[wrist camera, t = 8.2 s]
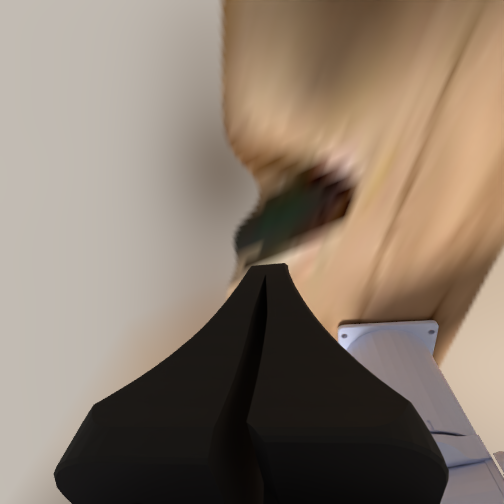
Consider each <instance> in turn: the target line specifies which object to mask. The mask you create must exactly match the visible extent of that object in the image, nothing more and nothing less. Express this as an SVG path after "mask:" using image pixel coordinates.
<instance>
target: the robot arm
mask: <svg viewBox="0 0 504 504" xmlns="http://www.w3.org/2000/svg"><path fill="white" fill-rule="evenodd" d="M438 328H439V325H438V324H437V322H436V321H434V320H425V321H406V322H387V323H368V324H348V325H341V326H339V327H338V342H337V341H336V340H335V339H334V338H333V337H332V336H331V335H330V334H329V332H328V331H327V330H326V329H325V328H324V327H323V326H322V324H321V323H320V322H319V321H318V320H317V318H316V317H315V316H314V314H313V313H312V312H311V310H310V309H309V308H308V306H307V305H306V303H305V302H304V300H303V299H302V297H301V295H300V294H299V292H298V290H297V289H296V287H295V285H294V283H293V281H292V278H291V276H290V274H289V270H288V265H286V264H285V263H280V264H269V265H257V266H251V267H250V269H249V270H248V271H247V273H246V275H245V276H244V278H243V279H242V280H241V282H240V283H239V285H238V286H237V288H236V289H235V290H234V292H233V293H232V294H231V296H230V297H229V298H228V300H227V301H226V302H225V303H224V304H223V306H222V307H221V308H220V309H219V310H218V311H217V313H216V314H215V315H214V316H213V317H212V318H211V319H210V320H209V322H208V323H207V324H206V325H205V326H204V327H203V328H202V329H201V330H200V331H199V332H197V333H196V334H195V335H194V336H193V337H192V338H191V339H190V340H189V341H187V342H186V343H185V344H184V345H182V346H181V347H180V348H179V349H178V350H177V351H175V352H174V353H173V354H172V355H170V356H169V357H168V358H166V359H165V360H164V361H162V362H161V363H159V364H158V365H157V366H155V367H154V368H152V369H151V370H150V371H148V372H147V373H145V374H144V375H142V376H141V377H139V378H138V379H136V380H134V381H133V382H131V383H130V384H128V385H126V386H125V387H123V388H122V389H120V390H118V391H116V392H115V393H113V394H111V395H110V396H108V397H107V398H105V399H103V400H101V401H100V402H98V403H96V404H95V405H93V407H92V408H91V410H90V411H89V413H88V415H87V416H86V418H85V420H84V421H83V423H82V424H81V426H80V428H79V429H78V431H77V433H76V435H75V436H74V438H73V440H72V441H71V443H70V445H69V446H68V448H67V450H66V452H65V453H64V455H63V457H62V458H61V460H60V462H59V463H58V465H57V467H56V469H55V472H54V477H55V481H56V485H57V488H58V489H59V490H60V492H61V493H62V494H63V495H64V496H65V497H66V498H67V499H68V500H69V501H70V502H71V503H72V504H504V478H503V476H502V475H501V473H500V471H499V470H498V468H497V466H496V464H495V463H494V461H493V459H492V457H491V456H490V454H489V452H488V451H487V449H486V447H485V445H484V444H483V442H482V440H481V439H480V437H479V435H477V434H476V432H475V430H474V429H473V427H472V425H471V423H470V422H469V420H468V418H467V416H466V415H465V413H464V411H463V409H462V407H461V406H460V404H459V402H458V400H457V399H456V397H455V395H454V393H453V392H452V390H451V388H450V386H449V385H448V383H447V381H446V379H445V378H444V376H443V374H442V372H441V370H440V369H439V367H438V365H437V363H436V362H435V360H434V358H433V352H434V347H435V342H436V338H437V333H438ZM430 330H431V331H430ZM343 334H345V335H343ZM493 455H494V456H495V458H496V460H497V461H498V463H499V465H500V467H501V468H502V470H503V472H504V452H503V451H499V452H496V453H494V454H493Z"/></svg>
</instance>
